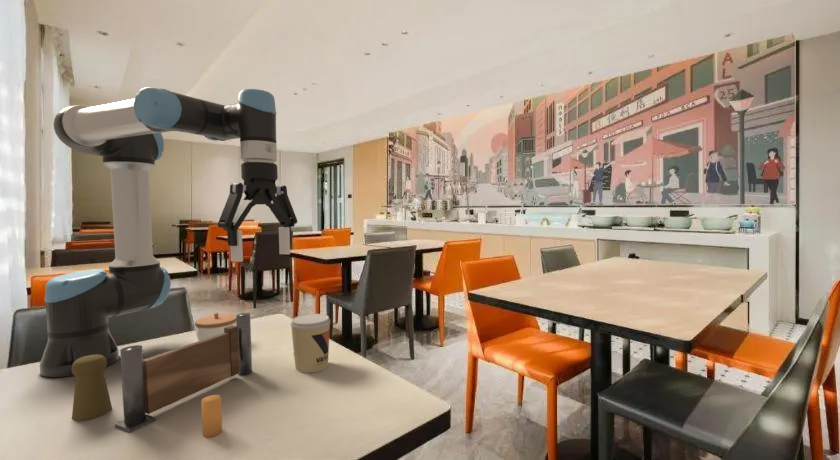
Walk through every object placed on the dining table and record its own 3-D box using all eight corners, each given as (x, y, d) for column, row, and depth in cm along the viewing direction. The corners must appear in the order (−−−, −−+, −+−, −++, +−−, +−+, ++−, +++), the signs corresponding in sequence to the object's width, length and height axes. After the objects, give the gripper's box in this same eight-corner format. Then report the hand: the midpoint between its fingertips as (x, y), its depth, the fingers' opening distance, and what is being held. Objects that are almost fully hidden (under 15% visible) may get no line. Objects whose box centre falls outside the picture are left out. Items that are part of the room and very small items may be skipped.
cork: (67, 424, 73) (63, 365, 73) (76, 409, 79) (73, 354, 78) (108, 415, 76) (105, 359, 75) (115, 402, 81) (112, 349, 81)
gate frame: (114, 427, 72) (110, 350, 71) (243, 368, 98) (241, 312, 97) (129, 432, 70) (125, 354, 69) (257, 371, 96) (255, 314, 95)
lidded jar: (212, 338, 121) (211, 308, 120) (245, 340, 119) (244, 308, 119) (187, 351, 110) (185, 317, 109) (223, 353, 108) (221, 318, 108)
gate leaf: (143, 412, 75) (140, 354, 75) (233, 371, 93) (231, 325, 93) (149, 414, 74) (146, 356, 74) (239, 373, 93) (237, 326, 92)
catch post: (198, 434, 69) (197, 401, 69) (214, 426, 72) (212, 393, 72) (210, 438, 68) (209, 404, 68) (225, 429, 71) (224, 396, 70)
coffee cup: (321, 375, 93) (319, 324, 93) (284, 372, 95) (283, 322, 94) (337, 360, 102) (336, 314, 102) (303, 358, 104) (302, 312, 104)
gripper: (221, 155, 76) (225, 266, 78) (310, 166, 99) (312, 252, 100) (195, 157, 80) (200, 263, 81) (287, 168, 102) (290, 251, 103)
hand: (262, 257), depth 90 cm, fingers open, 13 cm apart
